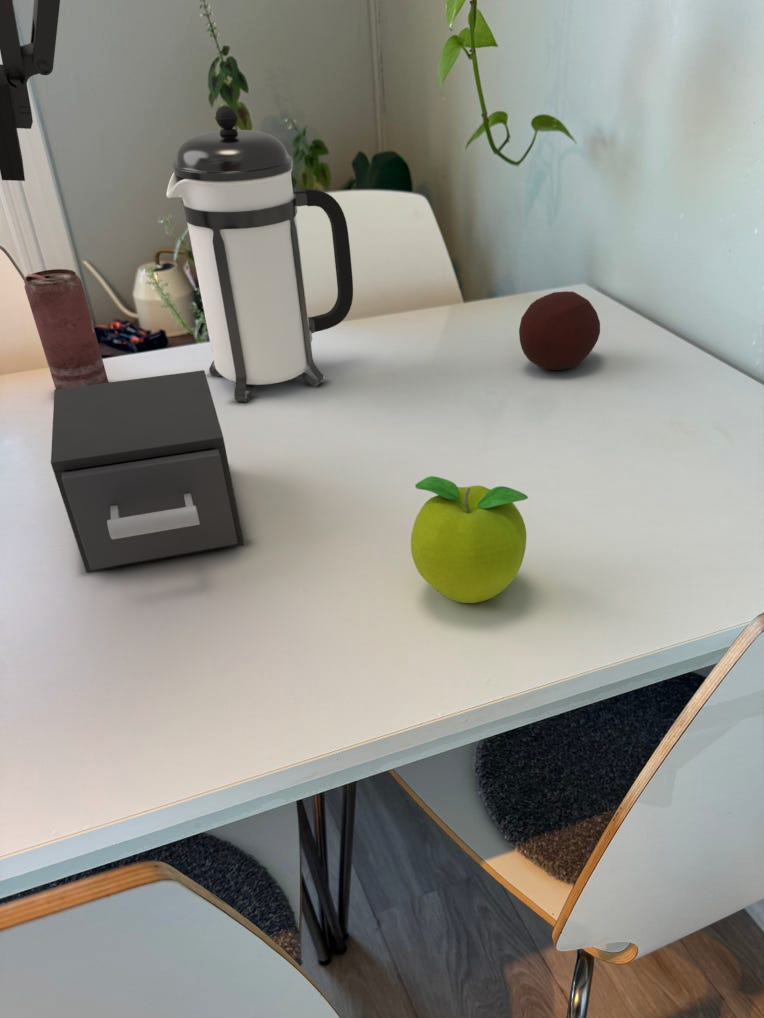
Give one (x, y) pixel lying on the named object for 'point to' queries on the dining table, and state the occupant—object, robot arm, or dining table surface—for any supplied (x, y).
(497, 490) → the fruit
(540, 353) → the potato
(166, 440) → the small grey cabinet
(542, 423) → the dining table surface
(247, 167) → the coffee press
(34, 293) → the can
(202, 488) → the drawer
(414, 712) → the dining table surface
